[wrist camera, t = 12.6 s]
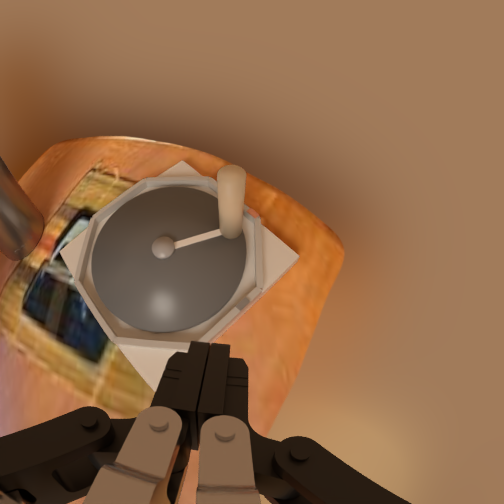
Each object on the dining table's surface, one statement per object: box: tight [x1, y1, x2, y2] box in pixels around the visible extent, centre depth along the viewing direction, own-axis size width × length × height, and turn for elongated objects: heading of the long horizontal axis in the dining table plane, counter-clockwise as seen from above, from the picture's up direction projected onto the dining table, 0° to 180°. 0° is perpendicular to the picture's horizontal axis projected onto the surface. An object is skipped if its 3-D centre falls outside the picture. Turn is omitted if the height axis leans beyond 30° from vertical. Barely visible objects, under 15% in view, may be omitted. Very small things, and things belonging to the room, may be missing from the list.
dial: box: [91, 165, 247, 333], centre depth 27 cm, size 19×19×10 cm
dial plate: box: [60, 160, 300, 392], centre depth 31 cm, size 22×22×3 cm
